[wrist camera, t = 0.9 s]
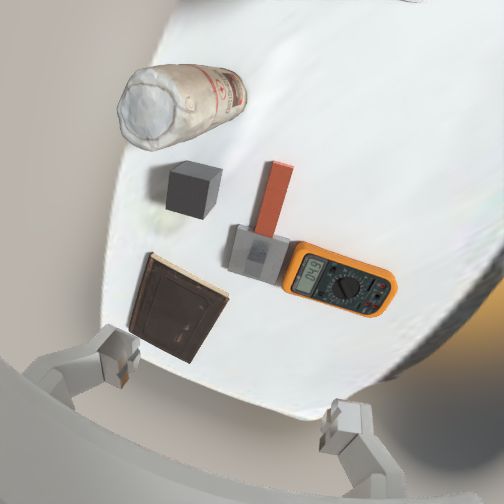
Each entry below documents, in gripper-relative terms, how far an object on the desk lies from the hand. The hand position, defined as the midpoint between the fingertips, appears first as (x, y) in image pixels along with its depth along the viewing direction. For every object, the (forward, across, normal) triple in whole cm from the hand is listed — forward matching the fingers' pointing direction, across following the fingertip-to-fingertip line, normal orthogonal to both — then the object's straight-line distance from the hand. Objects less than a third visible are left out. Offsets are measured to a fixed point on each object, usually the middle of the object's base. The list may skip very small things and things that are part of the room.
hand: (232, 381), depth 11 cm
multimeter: (+37, -11, +12) cm, 40 cm away
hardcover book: (+38, +17, +30) cm, 51 cm away
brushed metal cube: (+34, +14, +2) cm, 37 cm away
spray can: (+33, +13, -11) cm, 37 cm away
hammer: (+35, +3, +6) cm, 36 cm away
